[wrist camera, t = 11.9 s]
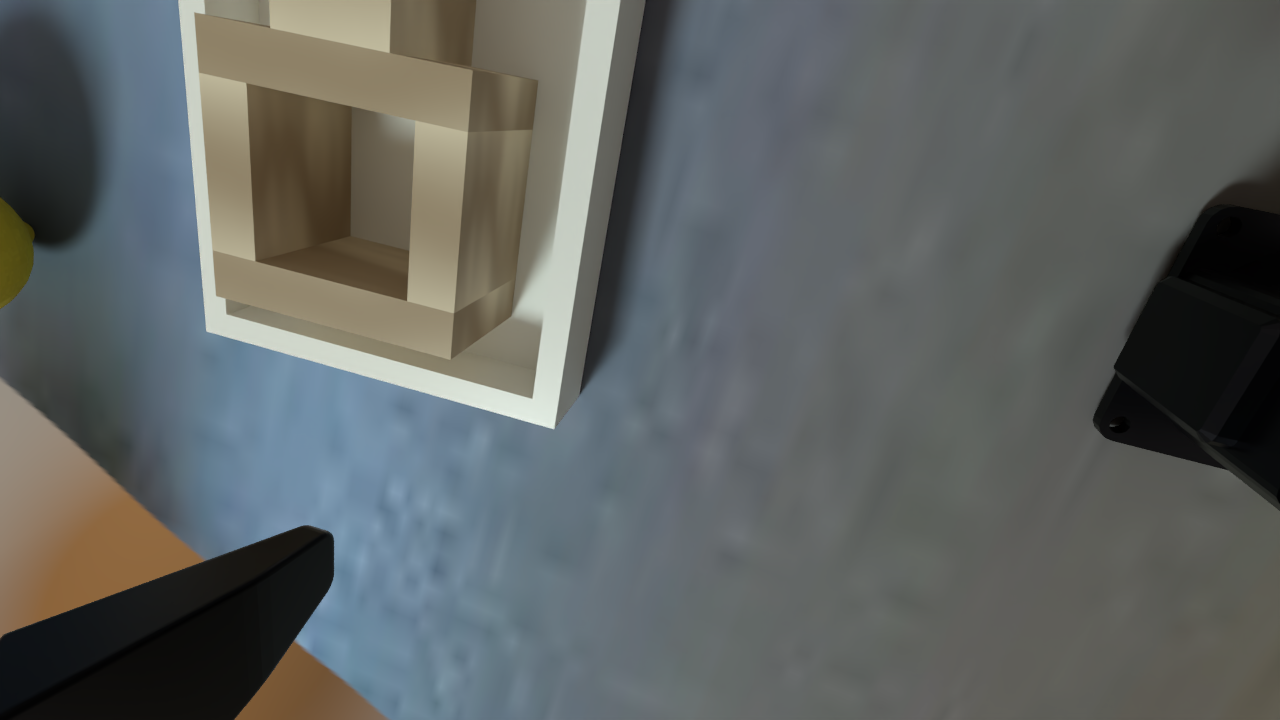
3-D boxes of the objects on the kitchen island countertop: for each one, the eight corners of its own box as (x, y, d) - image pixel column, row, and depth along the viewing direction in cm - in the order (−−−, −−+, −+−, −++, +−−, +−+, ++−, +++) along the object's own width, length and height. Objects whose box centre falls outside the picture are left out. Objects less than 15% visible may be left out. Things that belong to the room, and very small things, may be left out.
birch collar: (511, 316, 20) (450, 360, 17) (314, 265, 21) (215, 296, 17) (566, -163, 15) (497, -251, 12) (308, -203, 16) (170, -296, 13)
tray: (235, -316, 16) (145, -387, 14) (689, -257, 15) (671, -325, 12) (264, 310, 23) (206, 331, 21) (579, 396, 21) (554, 429, 19)
